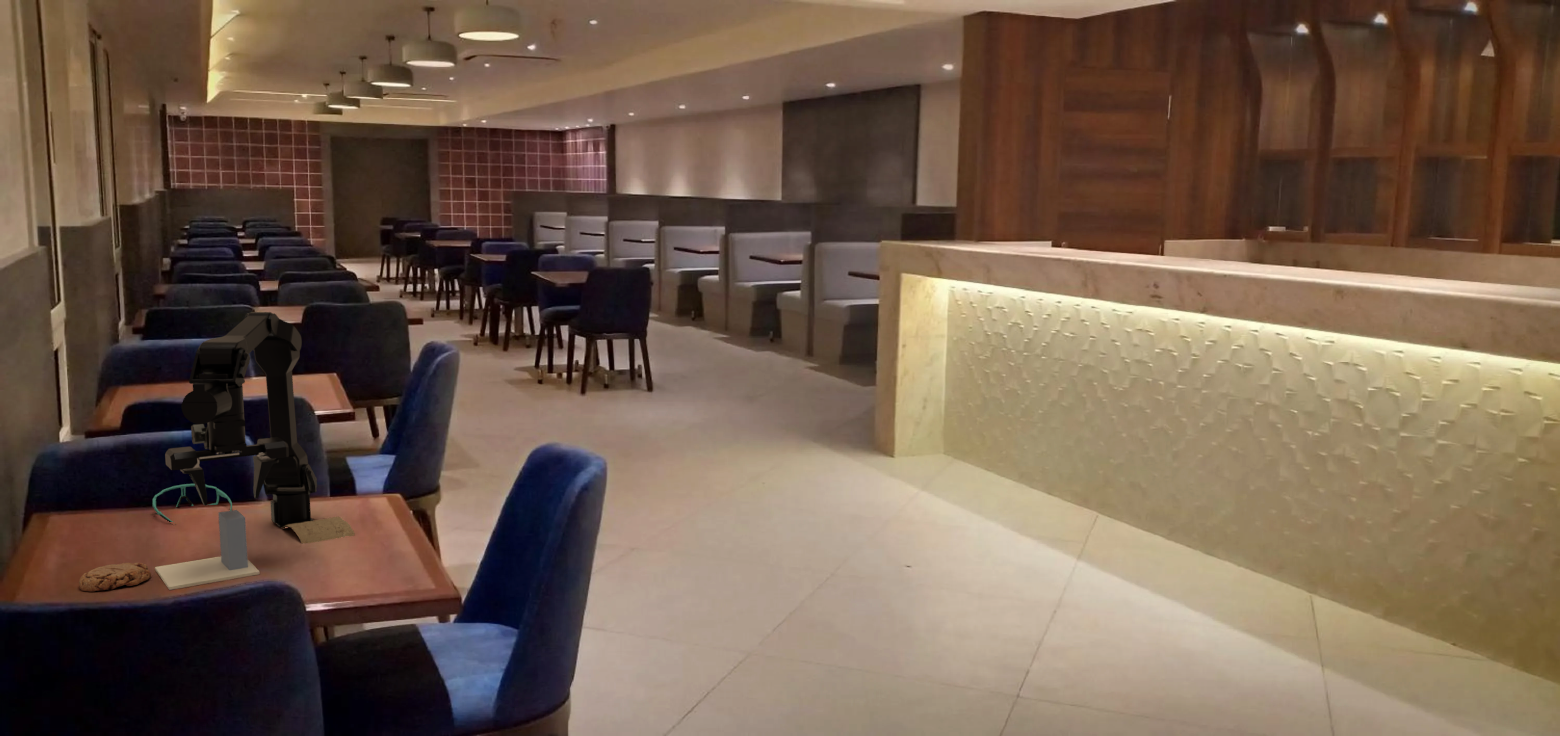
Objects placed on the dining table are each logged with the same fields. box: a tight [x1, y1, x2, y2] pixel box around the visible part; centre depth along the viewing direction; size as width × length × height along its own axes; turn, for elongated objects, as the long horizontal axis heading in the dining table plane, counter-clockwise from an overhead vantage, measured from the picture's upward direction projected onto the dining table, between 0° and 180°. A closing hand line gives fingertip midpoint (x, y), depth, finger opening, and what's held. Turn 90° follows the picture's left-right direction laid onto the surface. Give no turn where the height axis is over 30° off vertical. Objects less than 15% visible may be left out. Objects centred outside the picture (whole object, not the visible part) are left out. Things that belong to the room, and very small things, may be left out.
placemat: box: [154, 555, 261, 591], centre depth 199 cm, size 14×13×1 cm
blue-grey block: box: [217, 509, 249, 570], centre depth 201 cm, size 3×6×9 cm, turn 38°
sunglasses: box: [152, 483, 233, 523], centre depth 236 cm, size 14×15×5 cm
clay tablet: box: [281, 516, 355, 544], centre depth 224 cm, size 14×10×3 cm
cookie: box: [78, 562, 152, 593], centre depth 193 cm, size 10×11×3 cm
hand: (230, 501), depth 200 cm, fingers open, 8 cm apart
